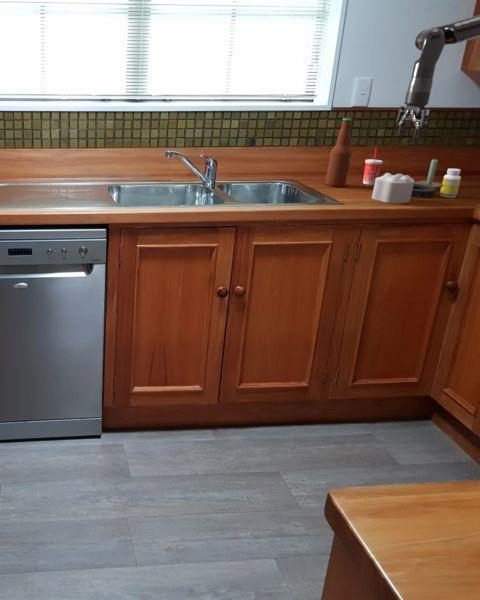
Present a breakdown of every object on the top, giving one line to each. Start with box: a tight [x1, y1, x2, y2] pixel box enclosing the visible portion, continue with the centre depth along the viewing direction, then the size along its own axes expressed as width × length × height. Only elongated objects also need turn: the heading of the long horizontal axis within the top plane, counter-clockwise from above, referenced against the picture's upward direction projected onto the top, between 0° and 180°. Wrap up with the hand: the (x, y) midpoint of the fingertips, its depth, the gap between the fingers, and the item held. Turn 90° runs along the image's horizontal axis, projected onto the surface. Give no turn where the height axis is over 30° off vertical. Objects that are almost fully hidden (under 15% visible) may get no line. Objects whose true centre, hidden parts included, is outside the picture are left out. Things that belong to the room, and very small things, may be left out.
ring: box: [411, 185, 436, 199], centre depth 223 cm, size 11×11×2 cm
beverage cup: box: [362, 147, 384, 186], centre depth 237 cm, size 6×6×14 cm
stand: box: [414, 159, 442, 192], centre depth 233 cm, size 9×9×10 cm
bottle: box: [325, 117, 353, 188], centre depth 231 cm, size 7×7×25 cm
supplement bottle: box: [439, 168, 462, 199], centre depth 219 cm, size 5×5×10 cm
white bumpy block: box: [371, 172, 415, 204], centre depth 213 cm, size 10×13×9 cm
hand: (408, 137), depth 220 cm, fingers open, 8 cm apart
